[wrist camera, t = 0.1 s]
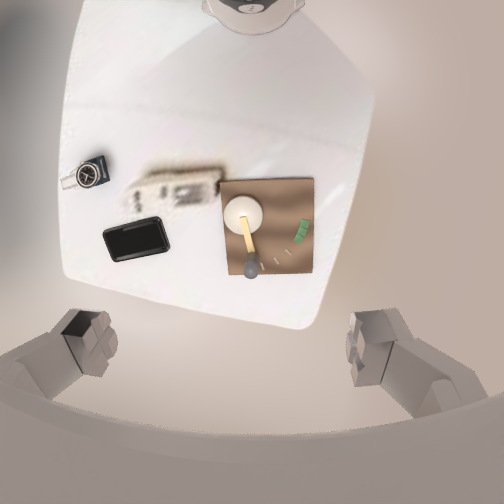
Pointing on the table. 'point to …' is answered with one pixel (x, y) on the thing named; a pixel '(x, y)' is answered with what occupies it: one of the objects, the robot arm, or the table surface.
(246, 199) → the dial knob with pointer
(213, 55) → the table surface
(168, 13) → the table surface
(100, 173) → the watch
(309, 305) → the table surface
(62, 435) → the robot arm
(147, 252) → the phone
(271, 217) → the gauge panel
